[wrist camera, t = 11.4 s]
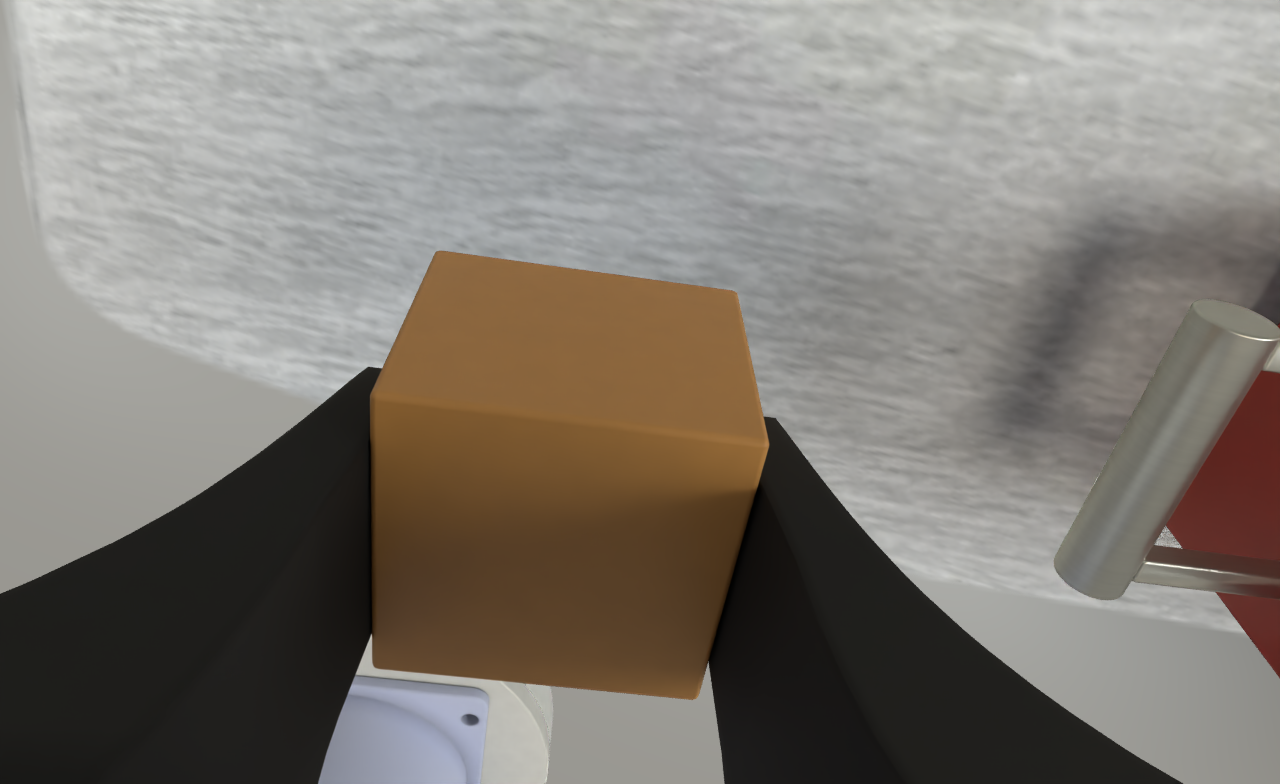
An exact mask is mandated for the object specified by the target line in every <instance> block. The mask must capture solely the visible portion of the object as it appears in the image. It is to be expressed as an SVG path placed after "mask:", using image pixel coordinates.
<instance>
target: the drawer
mask: <svg viewBox="0 0 1280 784" xmlns="http://www.w3.org/2000/svg"><path fill="white" fill-rule="evenodd" d="M1165 525H1166V526H1167V528H1168V529H1169V530H1170V532H1171V533H1172V534H1173V536H1174V537H1175V538H1176V540H1177V541H1178V542H1179V544H1180V545H1181V547H1182V548H1183V549H1181V548H1173V547H1165V546H1157V545H1154V543H1155V542H1156V540H1157V538H1158V537H1159V535H1160V534H1161V532H1162V530H1163V529H1164V527H1165ZM1054 567H1055V569H1056V572H1057V573H1058V575H1059V576H1060V577H1061V578H1062V579H1063V580H1064V581H1065V582H1066V583H1067V584H1068V585H1069V586H1071V587H1072V588H1074V589H1075V590H1077V591H1079V592H1080V593H1082V594H1084V595H1087V596H1089V597H1092V598H1096V599H1100V600H1114V599H1117V598H1119V597H1121V596H1122V595H1123V594H1124V592H1125V590H1126V589H1127V587H1128V585H1129V584H1130V582H1131V581H1134V582H1138V583H1146V584H1155V585H1163V586H1171V587H1180V588H1188V589H1196V590H1204V591H1213V592H1216V593H1217V595H1218V596H1219V597H1220V599H1221V600H1222V601H1223V603H1224V604H1225V605H1226V607H1227V608H1228V609H1229V611H1230V612H1231V613H1232V615H1233V616H1234V618H1235V619H1236V620H1237V622H1238V623H1239V624H1240V626H1241V627H1242V628H1243V630H1244V631H1245V632H1246V634H1247V635H1248V636H1249V638H1250V639H1251V640H1252V642H1253V643H1254V644H1255V645H1256V647H1257V648H1258V650H1259V651H1260V652H1261V654H1262V655H1263V656H1264V658H1265V659H1266V660H1267V662H1268V663H1269V664H1270V666H1271V667H1272V668H1273V670H1274V671H1275V672H1276V674H1277V675H1278V676H1279V678H1280V322H1279V324H1278V326H1276V325H1275V324H1274V323H1273V322H1271V321H1270V320H1268V319H1267V318H1265V317H1264V316H1262V315H1260V314H1258V313H1256V312H1254V311H1251V310H1249V309H1247V308H1244V307H1241V306H1238V305H1235V304H1232V303H1228V302H1224V301H1219V300H1211V299H1201V300H1197V301H1195V302H1194V303H1193V304H1192V305H1191V307H1190V309H1189V311H1188V313H1187V315H1186V317H1185V318H1184V320H1183V322H1182V324H1181V326H1180V328H1179V329H1178V331H1177V333H1176V335H1175V337H1174V339H1173V340H1172V342H1171V344H1170V346H1169V348H1168V350H1167V351H1166V353H1165V355H1164V357H1163V359H1162V361H1161V362H1160V364H1159V366H1158V368H1157V370H1156V372H1155V374H1154V375H1153V377H1152V379H1151V381H1150V383H1149V385H1148V386H1147V388H1146V390H1145V392H1144V394H1143V396H1142V397H1141V399H1140V401H1139V403H1138V405H1137V407H1136V408H1135V410H1134V412H1133V414H1132V416H1131V418H1130V419H1129V421H1128V423H1127V425H1126V427H1125V429H1124V430H1123V432H1122V434H1121V436H1120V438H1119V440H1118V442H1117V443H1116V445H1115V447H1114V449H1113V451H1112V453H1111V454H1110V456H1109V458H1108V460H1107V462H1106V464H1105V465H1104V467H1103V469H1102V471H1101V473H1100V475H1099V476H1098V478H1097V480H1096V482H1095V484H1094V486H1093V487H1092V489H1091V491H1090V493H1089V495H1088V497H1087V498H1086V500H1085V502H1084V504H1083V506H1082V508H1081V510H1080V511H1079V513H1078V515H1077V517H1076V519H1075V521H1074V522H1073V524H1072V526H1071V528H1070V530H1069V532H1068V533H1067V535H1066V537H1065V539H1064V541H1063V543H1062V544H1061V546H1060V548H1059V550H1058V552H1057V554H1056V555H1055V558H1054Z"/></svg>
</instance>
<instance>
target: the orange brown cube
mask: <svg viewBox="0 0 1280 784" xmlns="http://www.w3.org/2000/svg"><path fill="white" fill-rule="evenodd" d="M768 448H769V440H768V436H767V431H766V426H765V422H764V417H763V412H762V407H761V403H760V398H759V393H758V389H757V384H756V379H755V375H754V370H753V365H752V360H751V356H750V351H749V346H748V342H747V337H746V332H745V327H744V323H743V318H742V313H741V309H740V304H739V299H738V295H737V293H736V292H734V291H732V290H724V289H717V288H710V287H702V286H695V285H688V284H681V283H673V282H666V281H659V280H652V279H644V278H637V277H630V276H622V275H615V274H608V273H601V272H593V271H586V270H579V269H572V268H564V267H557V266H550V265H542V264H535V263H528V262H521V261H513V260H506V259H499V258H491V257H484V256H477V255H470V254H462V253H455V252H448V251H437V252H436V253H435V254H434V256H433V259H432V261H431V263H430V265H429V267H428V270H427V272H426V274H425V276H424V278H423V281H422V283H421V285H420V287H419V289H418V291H417V294H416V296H415V298H414V300H413V302H412V305H411V307H410V309H409V311H408V313H407V316H406V318H405V320H404V322H403V324H402V327H401V329H400V331H399V333H398V335H397V337H396V340H395V342H394V344H393V346H392V348H391V351H390V353H389V355H388V357H387V359H386V362H385V364H384V366H383V368H382V370H381V372H380V375H379V377H378V379H377V381H376V383H375V386H374V388H373V390H372V392H371V394H370V471H371V593H372V663H373V666H374V667H375V668H377V669H383V670H393V671H403V672H413V673H424V674H434V675H444V676H454V677H464V678H475V679H485V680H495V681H505V682H515V683H526V684H536V685H546V686H556V687H566V688H577V689H588V690H597V691H607V692H617V693H628V694H638V695H649V696H659V697H669V698H678V699H689V700H693V699H696V698H697V697H698V695H699V693H700V689H701V685H702V682H703V678H704V675H705V671H706V668H707V664H708V661H709V657H710V654H711V650H712V647H713V643H714V640H715V636H716V632H717V629H718V625H719V622H720V618H721V615H722V611H723V608H724V604H725V601H726V597H727V593H728V590H729V586H730V583H731V579H732V576H733V572H734V569H735V565H736V562H737V558H738V555H739V551H740V547H741V544H742V540H743V537H744V533H745V530H746V526H747V523H748V519H749V516H750V512H751V508H752V505H753V501H754V498H755V494H756V491H757V487H758V484H759V480H760V477H761V473H762V470H763V466H764V462H765V459H766V455H767V452H768Z"/></svg>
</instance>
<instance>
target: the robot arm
mask: <svg viewBox="0 0 1280 784" xmlns="http://www.w3.org/2000/svg"><path fill="white" fill-rule="evenodd" d="M381 370H382V368H374V367H367V368H366V369H365V370H363V371H362V372H361V373H359V374H358V375H357V376H355V377H354V378H353V379H352V380H350V381H349V382H348V383H347V384H346V385H344V386H343V387H342V388H341V389H340V390H338V391H337V392H336V393H335V394H334V395H332V396H331V397H330V398H329V399H327V400H326V401H325V402H324V403H323V404H321V405H320V406H319V407H318V408H317V409H315V410H314V411H313V412H312V413H310V414H309V415H308V416H307V417H305V418H304V419H303V420H302V421H300V422H299V423H298V424H297V425H295V426H294V427H293V428H291V429H290V430H289V431H287V432H286V433H285V434H284V435H282V436H281V437H280V438H279V439H277V440H276V441H274V442H273V443H272V444H271V445H269V446H268V447H267V448H265V449H264V450H263V451H261V452H260V453H259V454H257V455H256V456H255V457H253V458H252V459H250V460H249V461H247V462H246V463H245V464H243V465H242V466H240V467H239V468H237V469H236V470H234V471H233V472H232V473H230V474H228V475H227V476H225V477H224V478H223V479H222V480H220V481H218V482H217V483H215V484H214V485H213V486H211V487H209V488H208V489H207V490H205V491H203V492H202V493H200V494H199V495H197V496H196V497H194V498H192V499H191V500H189V501H187V502H186V503H184V504H182V505H181V506H179V507H177V508H176V509H174V510H172V511H170V512H169V513H167V514H165V515H163V516H161V517H160V518H158V519H156V520H154V521H152V522H151V523H149V524H147V525H145V526H143V527H142V528H140V529H138V530H136V531H135V532H133V533H131V534H129V535H127V536H125V537H123V538H121V539H119V540H117V541H115V542H113V543H111V544H109V545H107V546H105V547H103V548H100V549H98V550H96V551H94V552H92V553H90V554H88V555H86V556H83V557H81V558H79V559H77V560H75V561H73V562H71V563H68V564H66V565H64V566H62V567H60V568H58V569H56V570H54V571H51V572H49V573H47V574H45V575H43V576H41V577H39V578H37V579H34V580H32V581H30V582H28V583H26V584H23V585H21V586H18V587H16V588H13V589H11V590H9V591H6V592H3V593H1V594H0V784H481V775H482V766H483V757H484V748H485V739H486V729H487V720H488V711H489V702H490V700H489V696H488V695H487V694H486V692H484V691H482V690H481V689H478V688H473V687H463V686H453V685H444V684H434V683H424V682H414V681H405V680H395V679H385V678H375V677H366V676H356V672H357V670H358V667H359V665H360V662H361V659H362V657H363V654H364V652H365V649H366V647H367V644H368V642H369V639H370V637H371V634H372V593H371V471H370V394H371V392H372V390H373V388H374V386H375V383H376V381H377V379H378V377H379V375H380V372H381ZM764 422H765V426H766V431H767V436H768V440H769V448H768V452H767V455H766V459H765V462H764V466H763V470H762V473H761V477H760V480H759V484H758V487H757V491H756V494H755V498H754V501H753V505H752V508H751V512H750V516H749V519H748V523H747V526H746V530H745V533H744V537H743V540H742V544H741V547H740V551H739V555H738V558H737V562H736V565H735V569H734V572H733V576H732V579H731V583H730V586H729V590H728V593H727V597H726V601H725V604H724V608H723V611H722V615H721V618H720V622H719V625H718V629H717V632H716V636H715V640H714V643H713V647H712V650H711V654H710V657H709V668H710V675H711V682H712V689H713V696H714V703H715V710H716V717H717V724H718V731H719V738H720V745H721V751H722V762H723V771H724V781H725V784H1183V783H1181V782H1180V781H1178V780H1176V779H1174V778H1173V777H1171V776H1169V775H1168V774H1166V773H1164V772H1162V771H1161V770H1159V769H1157V768H1156V767H1154V766H1152V765H1150V764H1149V763H1147V762H1145V761H1144V760H1142V759H1140V758H1139V757H1137V756H1135V755H1134V754H1132V753H1131V752H1129V751H1128V750H1126V749H1124V748H1123V747H1121V746H1120V745H1118V744H1117V743H1115V742H1114V741H1112V740H1111V739H1109V738H1108V737H1106V736H1105V735H1103V734H1102V733H1100V732H1098V731H1097V730H1096V729H1094V728H1093V727H1091V726H1090V725H1088V724H1087V723H1085V722H1084V721H1082V720H1081V719H1079V718H1078V717H1076V716H1075V715H1073V714H1072V713H1070V712H1069V711H1068V710H1066V709H1065V708H1063V707H1062V706H1060V705H1059V704H1058V703H1056V702H1055V701H1054V700H1052V699H1051V698H1049V697H1048V696H1047V695H1045V694H1044V693H1042V692H1041V691H1040V690H1038V689H1037V688H1036V687H1034V686H1033V685H1032V684H1030V683H1029V682H1028V681H1027V680H1025V679H1024V678H1023V677H1021V676H1020V675H1019V674H1018V673H1016V672H1015V671H1014V670H1012V669H1011V668H1010V667H1009V666H1007V665H1006V664H1005V663H1003V662H1002V661H1001V660H1000V659H998V658H997V657H996V656H995V655H993V654H992V653H991V652H989V651H988V650H987V649H986V648H985V647H983V646H982V645H981V644H980V643H979V642H977V641H976V640H975V639H974V638H973V637H971V636H970V635H969V634H968V633H967V632H965V631H964V630H963V629H962V628H961V627H960V626H959V625H958V624H957V623H955V622H954V621H953V620H952V619H951V618H950V617H949V616H948V615H947V614H946V613H944V612H943V611H942V610H941V609H940V608H939V607H938V606H937V605H936V604H935V603H934V602H932V601H931V600H930V599H929V598H928V597H927V596H926V595H925V594H924V593H923V592H922V591H921V590H920V589H919V588H918V587H917V586H916V585H915V584H914V583H913V582H912V581H910V579H909V578H908V577H907V576H906V575H905V574H904V573H903V572H902V571H901V570H900V569H899V568H898V567H897V566H896V565H895V564H894V563H893V562H892V561H891V559H890V558H889V557H888V556H887V555H886V554H885V553H884V552H883V551H882V550H881V549H880V548H879V547H878V546H877V544H876V543H875V542H874V541H873V540H872V539H871V538H870V537H869V536H868V534H867V533H866V532H865V531H864V530H863V529H862V528H861V526H860V525H859V524H858V523H857V522H856V521H855V519H854V518H853V517H852V516H851V515H850V513H849V512H848V511H847V510H846V509H845V507H844V506H843V505H842V504H841V503H840V501H839V500H838V499H837V498H836V496H835V495H834V494H833V493H832V491H831V490H830V489H829V488H828V486H827V485H826V484H825V483H824V481H823V480H822V479H821V477H820V476H819V475H818V473H817V472H816V471H815V470H814V468H813V467H812V466H811V464H810V463H809V462H808V460H807V459H806V458H805V456H804V455H803V454H802V452H801V451H800V450H799V448H798V447H797V446H796V444H795V443H794V442H793V440H792V439H791V438H790V436H789V435H788V434H787V432H786V431H785V430H784V428H783V427H782V426H781V425H780V423H779V422H778V421H777V419H776V418H771V417H764ZM471 714H472V715H471Z"/></svg>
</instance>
